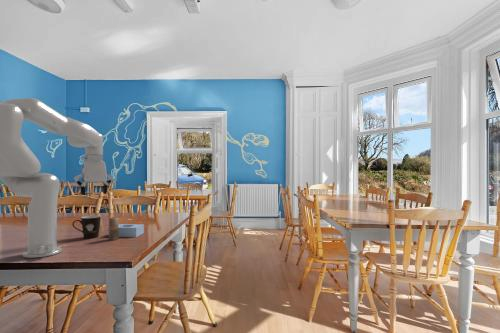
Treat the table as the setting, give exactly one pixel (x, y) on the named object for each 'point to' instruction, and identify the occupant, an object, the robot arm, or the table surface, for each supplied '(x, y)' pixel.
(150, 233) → the table surface
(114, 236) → the peg
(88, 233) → the coffee mug
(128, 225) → the socket board
